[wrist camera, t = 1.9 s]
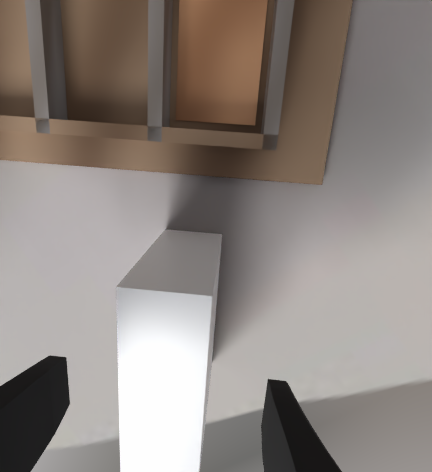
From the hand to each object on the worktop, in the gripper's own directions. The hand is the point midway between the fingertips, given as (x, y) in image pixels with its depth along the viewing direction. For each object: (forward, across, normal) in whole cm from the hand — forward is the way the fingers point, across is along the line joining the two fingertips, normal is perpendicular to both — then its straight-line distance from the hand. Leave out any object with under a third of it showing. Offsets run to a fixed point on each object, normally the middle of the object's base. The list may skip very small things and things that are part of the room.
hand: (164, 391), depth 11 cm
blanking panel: (+7, 0, 0) cm, 7 cm away
